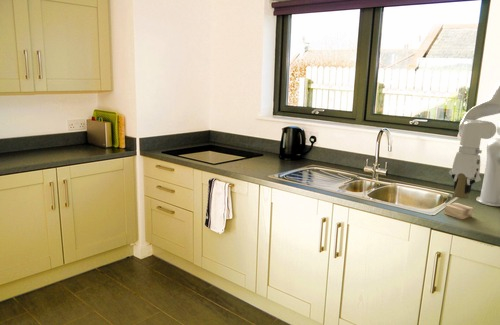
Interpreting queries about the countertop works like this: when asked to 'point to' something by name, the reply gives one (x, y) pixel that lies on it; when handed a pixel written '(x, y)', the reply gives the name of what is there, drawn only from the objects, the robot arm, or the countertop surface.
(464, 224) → the countertop surface
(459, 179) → the cork
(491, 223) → the countertop surface
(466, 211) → the oak block base
